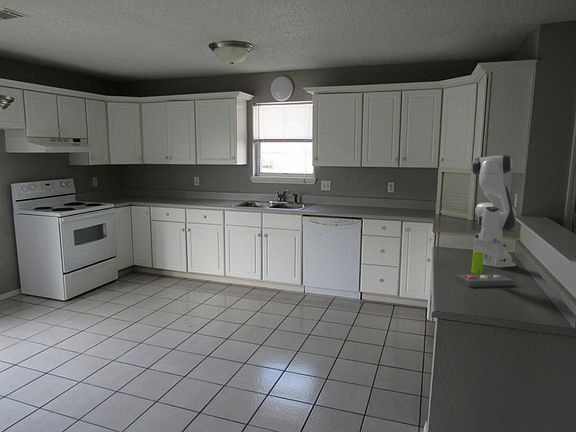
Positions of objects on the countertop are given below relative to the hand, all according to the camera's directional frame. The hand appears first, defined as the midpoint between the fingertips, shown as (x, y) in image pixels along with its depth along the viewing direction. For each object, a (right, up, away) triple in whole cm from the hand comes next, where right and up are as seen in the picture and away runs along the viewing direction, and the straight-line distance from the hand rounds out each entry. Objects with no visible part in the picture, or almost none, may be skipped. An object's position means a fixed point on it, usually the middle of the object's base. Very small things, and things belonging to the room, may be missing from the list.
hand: (487, 262), depth 222 cm
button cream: (-1, -11, +2) cm, 11 cm away
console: (-1, -11, +2) cm, 11 cm away
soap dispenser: (+4, -9, +21) cm, 23 cm away
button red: (-9, -11, 0) cm, 14 cm away
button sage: (+7, -11, +3) cm, 13 cm away
